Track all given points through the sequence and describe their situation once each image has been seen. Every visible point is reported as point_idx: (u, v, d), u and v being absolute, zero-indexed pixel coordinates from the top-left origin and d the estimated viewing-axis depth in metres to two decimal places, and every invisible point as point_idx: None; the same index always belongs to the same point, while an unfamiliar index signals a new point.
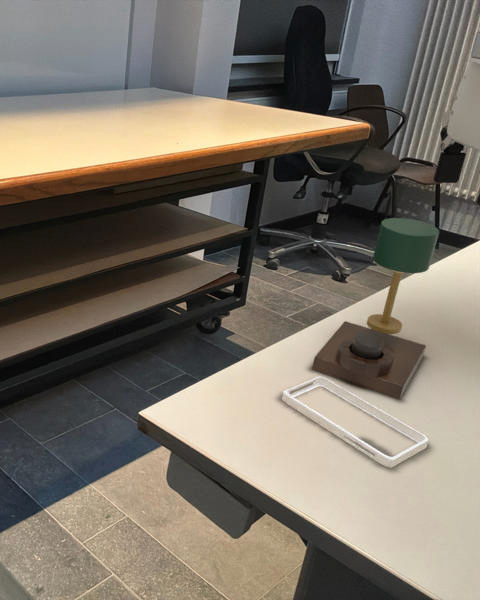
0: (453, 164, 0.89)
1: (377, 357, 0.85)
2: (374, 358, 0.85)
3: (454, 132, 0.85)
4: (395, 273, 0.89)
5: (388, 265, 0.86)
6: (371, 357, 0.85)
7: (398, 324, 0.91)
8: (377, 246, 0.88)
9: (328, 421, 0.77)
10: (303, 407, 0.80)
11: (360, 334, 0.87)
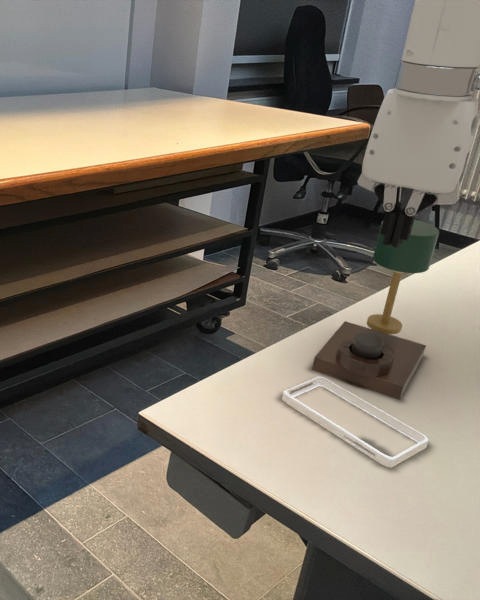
0: None
1: (377, 357, 0.85)
2: (374, 358, 0.85)
3: (381, 173, 0.76)
4: (395, 273, 0.89)
5: (388, 265, 0.86)
6: (371, 357, 0.85)
7: (398, 324, 0.91)
8: (377, 246, 0.88)
9: (328, 421, 0.77)
10: (303, 407, 0.80)
11: (360, 334, 0.87)
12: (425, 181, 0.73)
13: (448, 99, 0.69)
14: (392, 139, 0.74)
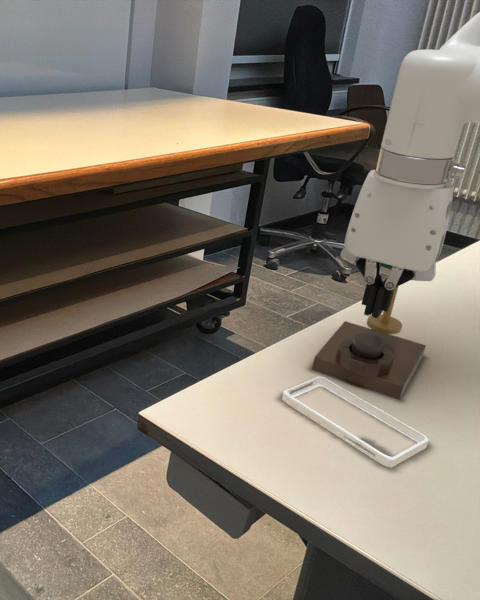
0: None
1: (377, 357, 0.85)
2: (374, 358, 0.85)
3: (362, 249, 0.80)
4: None
5: (388, 265, 0.86)
6: (371, 357, 0.85)
7: (398, 324, 0.91)
8: None
9: (328, 421, 0.77)
10: (303, 407, 0.80)
11: (360, 334, 0.87)
12: (403, 260, 0.77)
13: (424, 187, 0.73)
14: (372, 219, 0.78)
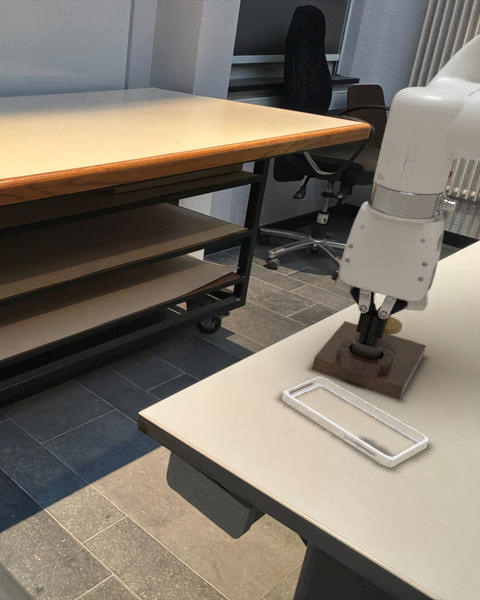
0: None
1: (377, 357, 0.85)
2: (374, 358, 0.85)
3: (356, 279, 0.82)
4: None
5: None
6: (371, 357, 0.85)
7: (398, 324, 0.91)
8: None
9: (328, 421, 0.77)
10: (303, 407, 0.80)
11: None
12: (396, 290, 0.79)
13: (415, 221, 0.75)
14: (365, 250, 0.80)
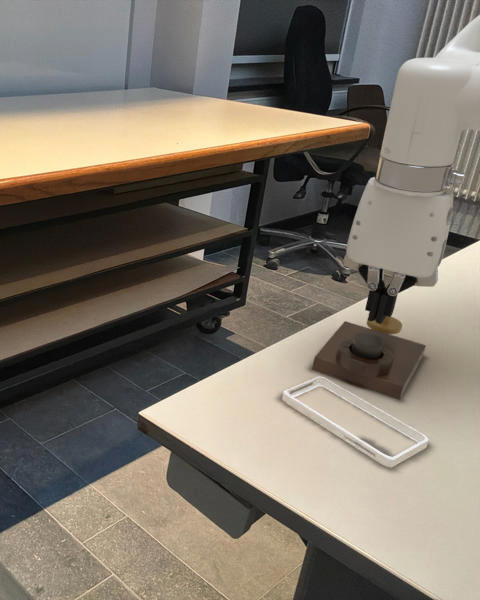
0: None
1: (377, 357, 0.85)
2: (374, 358, 0.85)
3: (364, 256, 0.80)
4: None
5: None
6: (371, 357, 0.85)
7: (398, 324, 0.91)
8: None
9: (328, 421, 0.77)
10: (303, 407, 0.80)
11: (360, 334, 0.87)
12: (405, 266, 0.78)
13: (424, 195, 0.73)
14: (373, 227, 0.78)
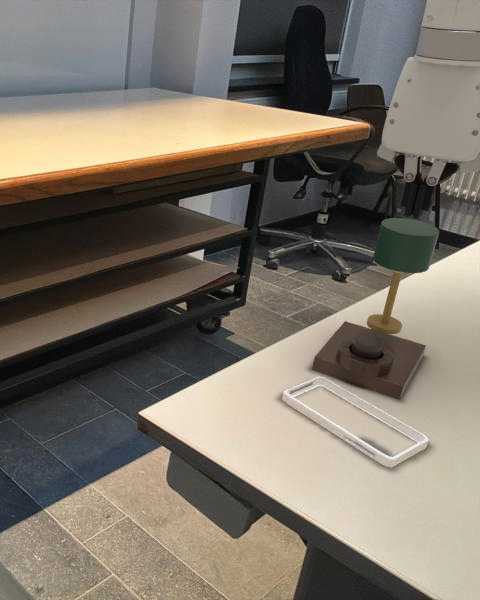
0: (418, 193, 0.78)
1: (377, 357, 0.85)
2: (374, 358, 0.85)
3: (402, 143, 0.75)
4: (395, 273, 0.89)
5: (388, 265, 0.86)
6: (371, 357, 0.85)
7: (398, 324, 0.91)
8: (377, 246, 0.88)
9: (328, 421, 0.77)
10: (303, 407, 0.80)
11: (360, 334, 0.87)
12: (447, 149, 0.72)
13: (470, 64, 0.68)
14: (413, 107, 0.73)
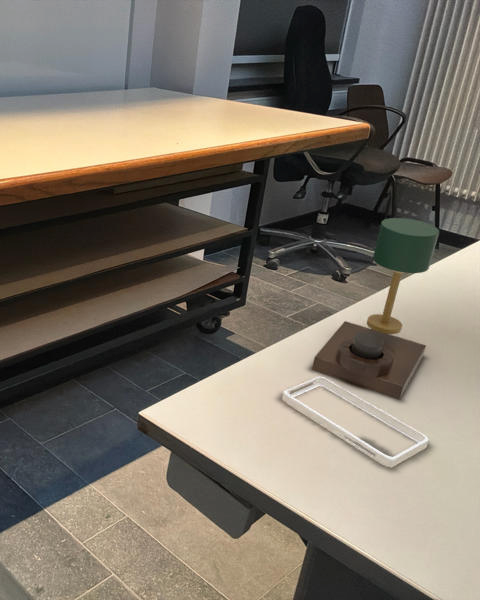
0: None
1: (377, 357, 0.85)
2: (374, 358, 0.85)
3: None
4: (395, 273, 0.89)
5: (388, 265, 0.86)
6: (371, 357, 0.85)
7: (398, 324, 0.91)
8: (377, 246, 0.88)
9: (328, 421, 0.77)
10: (303, 407, 0.80)
11: (360, 334, 0.87)
12: None
13: None
14: None
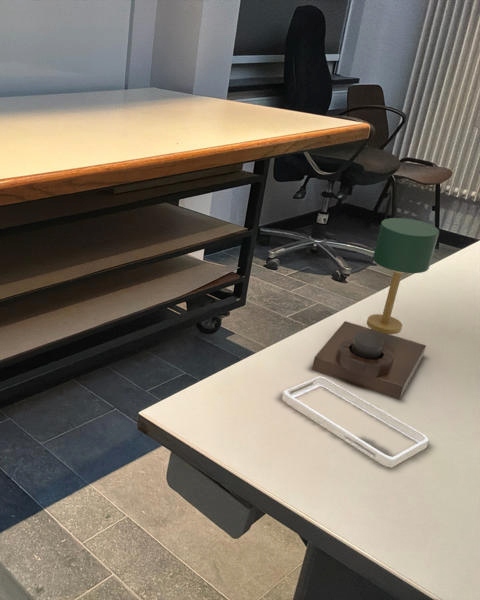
0: None
1: (377, 357, 0.85)
2: (374, 358, 0.85)
3: None
4: (395, 273, 0.89)
5: (388, 265, 0.86)
6: (371, 357, 0.85)
7: (398, 324, 0.91)
8: (377, 246, 0.88)
9: (328, 421, 0.77)
10: (303, 407, 0.80)
11: (360, 334, 0.87)
12: None
13: None
14: None
